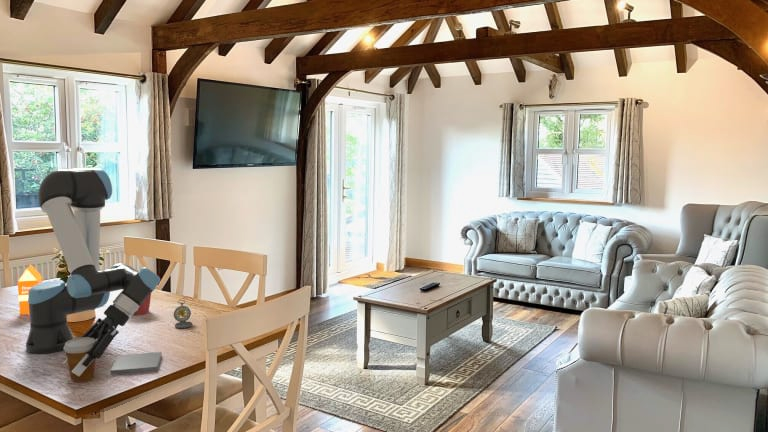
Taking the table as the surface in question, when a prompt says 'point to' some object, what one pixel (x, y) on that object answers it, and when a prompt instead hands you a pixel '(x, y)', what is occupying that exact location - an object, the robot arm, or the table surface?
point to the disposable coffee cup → (79, 357)
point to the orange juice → (27, 287)
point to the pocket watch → (181, 311)
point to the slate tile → (136, 363)
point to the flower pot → (144, 307)
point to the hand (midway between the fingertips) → (70, 369)
